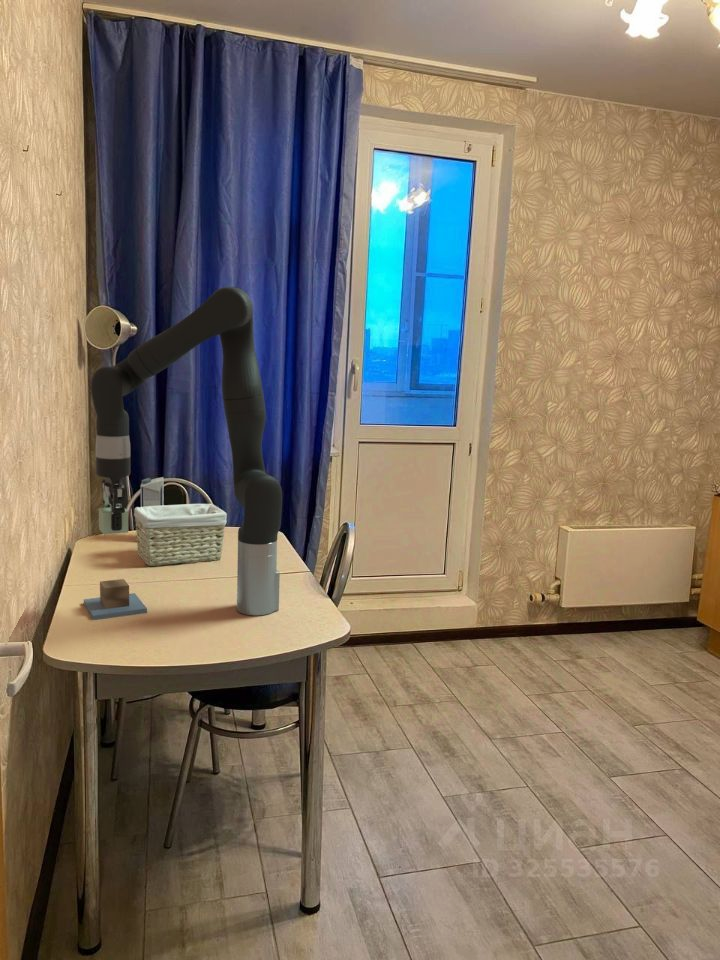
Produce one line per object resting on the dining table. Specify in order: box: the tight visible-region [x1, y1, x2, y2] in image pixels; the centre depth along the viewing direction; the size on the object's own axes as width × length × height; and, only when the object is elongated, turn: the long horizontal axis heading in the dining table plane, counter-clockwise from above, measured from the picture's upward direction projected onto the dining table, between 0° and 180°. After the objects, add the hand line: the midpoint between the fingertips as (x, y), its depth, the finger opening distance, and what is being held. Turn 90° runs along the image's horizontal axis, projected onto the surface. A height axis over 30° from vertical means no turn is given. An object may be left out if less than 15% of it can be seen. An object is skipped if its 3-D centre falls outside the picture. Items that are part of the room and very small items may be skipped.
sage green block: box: [98, 506, 129, 535], centre depth 171 cm, size 6×6×5 cm
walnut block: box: [99, 578, 130, 609], centre depth 174 cm, size 6×6×5 cm
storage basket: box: [133, 503, 228, 567], centre depth 217 cm, size 24×16×15 cm
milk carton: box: [140, 476, 165, 507], centre depth 235 cm, size 7×7×20 cm
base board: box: [83, 592, 148, 621], centre depth 174 cm, size 12×12×1 cm
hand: (113, 526), depth 171 cm, fingers closed on sage green block, 5 cm apart
